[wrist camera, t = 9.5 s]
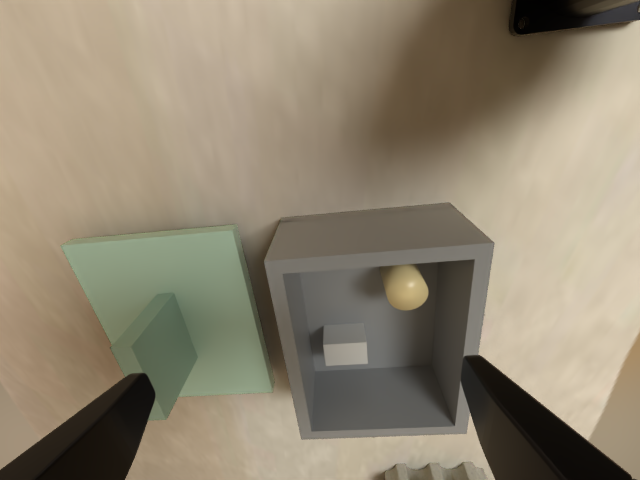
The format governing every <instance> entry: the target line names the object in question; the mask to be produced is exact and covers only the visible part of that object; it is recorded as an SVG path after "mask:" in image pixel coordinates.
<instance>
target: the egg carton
mask: <svg viewBox="0 0 640 480" xmlns="http://www.w3.org/2000/svg"><path fill="white" fill-rule="evenodd" d="M385 480H488V479H487V477H486V475H485V472H484V470H483V469H482V468H477V467H475V466H474V464H473V462H463V463H462V464H461V465H460V466H459V467H457V468H455V469H445V468H442V467H441V466H440V464H439V463H429V464H428V465H427V467H425V468H423V469H420V470H412V469H409V468H408V467H407V466H406V464H396V465H395V467H394V468H393V469H391V470H388V471H386V472H385Z"/></svg>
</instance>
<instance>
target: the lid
mask: <svg viewBox="0 0 640 480" xmlns="http://www.w3.org/2000/svg"><path fill="white" fill-rule="evenodd" d="M61 248H62V250H63V252H64V254H65V256H66V258H67V259H68V261H69V263H70V265H71V267H72V269H73V271H74V273H75V275H76V277H77V279H78V281H79V283H80V285H81V287H82V288H83V290H84V292H85V294H86V296H87V298H88V300H89V302H90V304H91V306H92V308H93V310H94V312H95V314H96V316H97V317H98V319H99V321H100V323H101V325H102V327H103V329H104V331H105V333H106V335H107V337H108V339H109V341H110V343H111V345H112V346H111V347H110V349H111V351H112V353H113V355H114V357H115V358H116V360H117V362H118V364H119V366H120V368H121V370H122V372H123V374H124V376H125V377H126V376H127V375H129V374H131V373H146V374H147V375H148V377H149V379H150V381H151V383H152V385H153V387H154V390H155V393H156V397H155V402H154V404H153V407H152V410H151V413H150V416H149V419H148V420H166V419H167V418H168V416H169V414H170V412H171V410H172V408H173V406H174V404H175V402H176V400H177V398H178V397H187V396H208V395H229V394H250V393H271V392H273V388H274V383H275V381H274V377H273V373H272V369H271V365H270V360H269V356H268V352H267V348H266V344H265V340H264V335H263V331H262V327H261V323H260V319H259V315H258V310H257V306H256V302H255V298H254V294H253V290H252V285H251V281H250V277H249V273H248V269H247V264H246V260H245V256H244V252H243V248H242V244H241V239H240V235H239V231H238V227H237V224H234V225H223V226H212V227H201V228H190V229H179V230H168V231H157V232H146V233H135V234H124V235H113V236H102V237H91V238H79V239H72V240H70V241H68V242H66V243H64V244H63V245H61Z"/></svg>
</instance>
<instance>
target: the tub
mask: <svg viewBox="0 0 640 480" xmlns="http://www.w3.org/2000/svg"><path fill="white" fill-rule="evenodd" d="M493 249H494V242H493V241H492V240H491V239H490V238H488V237H487V236H486V235H485V234H484V233H483V232H482V231H481V230H480V229H478V228H477V227H476V226H475V225H474V224H473V223H472V222H471V221H469V220H468V219H467V218H466V217H465V216H464V215H463V214H462V213H460V212H459V211H458V210H457V209H456V208H455V207H454V206H453V205H452V204H450V203H440V204H429V205H418V206H407V207H396V208H385V209H373V210H362V211H351V212H340V213H329V214H318V215H307V216H296V217H285V218H281V220H280V223H279V225H278V228H277V230H276V233H275V235H274V238H273V240H272V242H271V245H270V247H269V250H268V252H267V255H266V257H265V260H264V265H265V269H266V274H267V279H268V284H269V288H270V293H271V298H272V303H273V307H274V312H275V317H276V321H277V326H278V331H279V336H280V340H281V345H282V350H283V355H284V359H285V364H286V369H287V374H288V378H289V383H290V388H291V393H292V397H293V402H294V407H295V412H296V416H297V421H298V426H299V431H300V435H301V440H303V439H331V438H360V437H388V436H417V435H445V434H467V427H468V420H469V414H470V410H469V407H468V404H467V401H466V398H465V395H464V391H463V388H462V385H461V369H462V361H463V357H464V356H466V355H478V352H479V345H480V338H481V331H482V325H483V318H484V311H485V304H486V297H487V290H488V284H489V277H490V270H491V263H492V256H493Z"/></svg>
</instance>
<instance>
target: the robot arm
mask: <svg viewBox="0 0 640 480" xmlns="http://www.w3.org/2000/svg"><path fill="white" fill-rule="evenodd" d="M639 4H640V0H512V7H511V15H510V22H509V31H510V33H511V34H512V35H513V36H524V35H531V34H539V33H547V32H555V31H563V30H571V29H578V28H586V27H594V26H602V25H610V24H618V23H625V22H633V21H637V20H640V12H639V13H638V11H637V8H638V6H639ZM520 19H523V20H524V22H525V24H524V27H523V28H522V29H520V28H519V25H518V23H519V20H520ZM461 385H462V388H463V391H464V395H465V398H466V401H467V404H468V407H469V410H470V413H471V416H472V420H473V423H474V426H475V429H476V432H477V435H478V438H479V441H480V444H481V447H482V449H483V452H484V454H485V457H486V459H487V461H488V464H489V466H490V468H491V471H492V473H493V475H494V478H495V480H636V479H632V477H631V475H630V474H629V473H628V472H626V471H625V470H624V469H623V468H621V467H620V466H619V465H617V464H616V463H615V462H614V461H613V460H611V459H610V458H609V457H607V456H606V455H605V454H604V453H602V452H601V451H600V450H599V449H597V448H596V447H595V446H594V445H592V444H591V443H590V442H589V441H587V440H586V439H585V438H584V437H582V436H581V435H580V434H579V433H577V432H576V431H575V430H574V429H572V428H571V427H570V426H569V425H567V424H566V423H565V422H564V421H562V420H561V419H560V418H559V417H557V416H556V415H555V414H554V413H552V412H551V411H550V410H549V409H547V408H546V407H545V406H544V405H542V404H541V403H540V402H538V401H537V400H536V399H535V398H533V397H532V396H531V395H530V394H528V393H527V392H526V391H525V390H523V389H522V388H521V387H520V386H518V385H517V384H516V383H515V382H513V381H512V380H511V379H510V378H508V377H507V376H506V375H505V374H503V373H502V372H501V371H500V370H498V369H497V368H496V367H495V366H493V365H492V364H491V363H490V362H488V361H487V360H486V359H485V358H483V357H482V356H480V355H466V356H464V357H463V361H462V369H461ZM155 397H156V393H155V390H154V387H153V385H152V383H151V381H150V379H149V377H148V375H147V374H146V373H131V374H129V375H127V376H126V377H125V378H123V379H122V380H121V381H119V382H118V383H117V384H115V385H114V386H113V387H111V388H110V389H109V390H107V391H106V392H104V393H103V394H102V395H100V396H99V397H98V398H96V399H95V400H94V401H92V402H91V403H90V404H88V405H87V406H86V407H84V408H83V409H82V410H80V411H79V412H78V413H76V414H75V415H73V416H72V417H71V418H69V419H68V420H67V421H65V422H64V423H63V424H61V425H60V426H59V427H57V428H56V429H55V430H53V431H52V432H51V433H49V434H48V435H47V436H45V437H44V438H43V439H41V440H40V441H39V442H37V443H36V444H35V445H33V446H32V447H30V448H29V449H28V450H26V451H25V452H24V453H22V454H21V455H20V456H18V457H17V458H16V459H14V460H13V461H12V462H10V463H9V464H7V465H6V466H5V467H3V468H2V469H1V470H0V480H125V478H126V476H127V474H128V472H129V469H130V467H131V465H132V462H133V460H134V458H135V455H136V453H137V450H138V447H139V444H140V442H141V439H142V436H143V433H144V430H145V427H146V424H147V422H148V419H149V416H150V413H151V410H152V407H153V404H154V402H155Z"/></svg>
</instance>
